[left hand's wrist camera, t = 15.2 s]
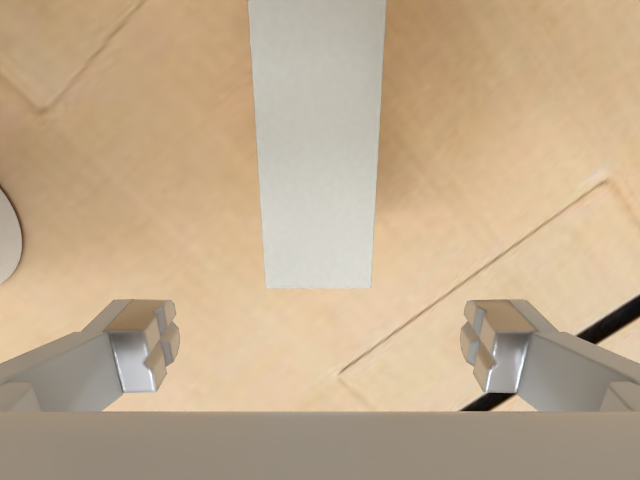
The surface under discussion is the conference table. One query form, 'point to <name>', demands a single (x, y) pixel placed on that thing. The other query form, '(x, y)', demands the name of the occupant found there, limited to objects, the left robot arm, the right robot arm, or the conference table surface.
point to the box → (317, 137)
